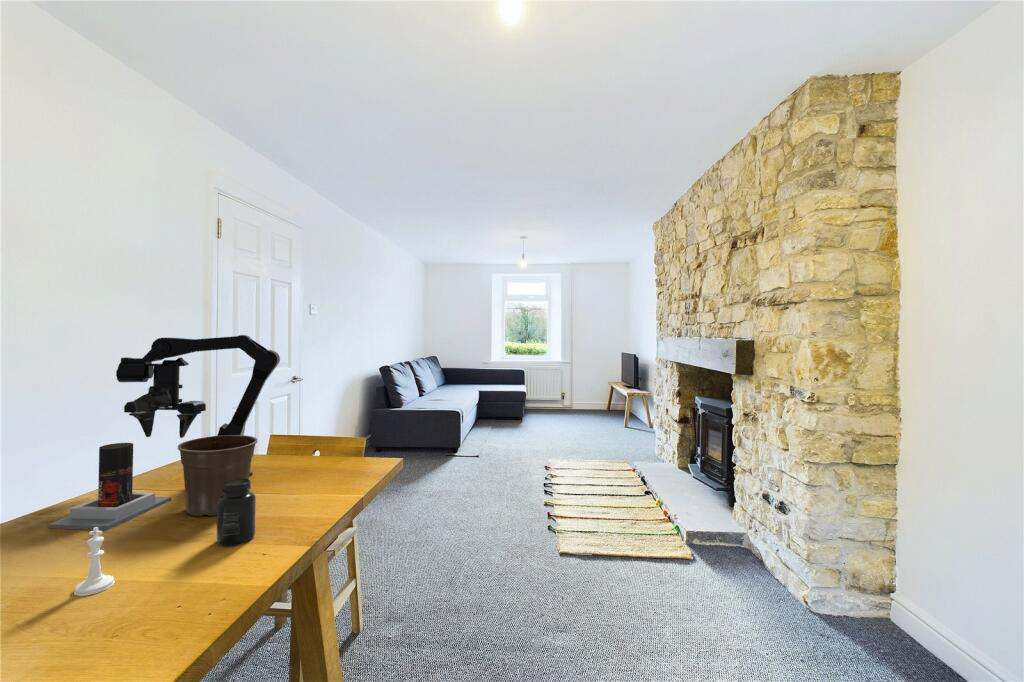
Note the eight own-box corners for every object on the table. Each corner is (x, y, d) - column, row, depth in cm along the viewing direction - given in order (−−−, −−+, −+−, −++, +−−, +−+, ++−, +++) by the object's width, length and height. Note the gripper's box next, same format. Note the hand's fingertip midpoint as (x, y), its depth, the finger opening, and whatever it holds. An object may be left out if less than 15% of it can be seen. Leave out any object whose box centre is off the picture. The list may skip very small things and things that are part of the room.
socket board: (171, 500, 110) (171, 488, 110) (107, 529, 93) (107, 515, 93) (120, 498, 110) (120, 487, 110) (48, 528, 93) (48, 514, 93)
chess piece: (91, 579, 74) (93, 521, 74) (122, 578, 75) (123, 521, 75) (64, 596, 70) (65, 534, 69) (97, 595, 70) (98, 534, 70)
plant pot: (270, 502, 110) (272, 439, 110) (202, 526, 95) (204, 454, 95) (230, 491, 117) (231, 432, 117) (161, 512, 102) (162, 444, 102)
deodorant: (138, 505, 104) (140, 443, 104) (113, 515, 98) (114, 449, 98) (117, 503, 105) (118, 442, 105) (90, 513, 99) (91, 448, 99)
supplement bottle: (262, 535, 92) (264, 479, 92) (232, 549, 86) (234, 489, 86) (239, 529, 94) (240, 475, 94) (208, 543, 88) (209, 484, 88)
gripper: (106, 384, 113) (105, 443, 113) (179, 385, 114) (178, 444, 114) (141, 380, 124) (140, 434, 125) (207, 381, 125) (206, 435, 125)
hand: (165, 437), depth 122 cm, fingers open, 9 cm apart
